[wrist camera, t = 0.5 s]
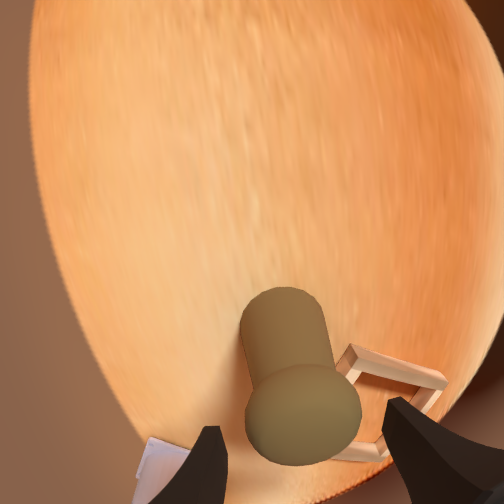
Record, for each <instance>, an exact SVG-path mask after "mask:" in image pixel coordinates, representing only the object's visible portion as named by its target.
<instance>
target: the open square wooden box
mask: <svg viewBox="0 0 504 504" xmlns="http://www.w3.org/2000/svg"><path fill="white" fill-rule="evenodd" d="M335 368H336V371H338V372H340V373H341V374H342V375H344V376H345V377H346V378H347V379H348V380H349V382H350V383H351V384H352V385H353V384H354V382H355V381H356V379H357V378H358V377H359V375H360V374H361V372H366V373H369V374H373V375H377V376H381V377H384V378H388V379H392V380H396V381H400V382H404V383H409V384H413V385H417V386H421V387H420V389H419V390H418V391H417V393H416V394H415V395H414V397H413V398H412V399H411V401H410V402H409V403H410V404H411V405H413V406H414V407H415V408H416V409H418V410H419V411H421V412H422V413H423V414H426V413H427V411H428V410H429V409H430V408H431V406H432V405H433V404H434V402H435V401H436V400H437V399H438V397H439V396H440V395H441V393H442V392H443V390H444V389H445V388H446V386H447V385H448V383H449V382H448V380H447V379H446V378H445V377H444V376H443V375H442V374H441V373H440V371H437V370H433V369H430V368H426V367H423V366H420V365H416V364H413V363H409V362H406V361H403V360H400V359H396V358H393V357H390V356H387V355H383V354H380V353H377V352H374V351H371V350H368V349H365V348H362V347H359V346H356V345H353V344H350V345H349V347H348V348H347V350H346V351H345V353H344V355H343V356H342V358H341V359H340V361H339V363H338V364H337V366H336V367H335ZM389 454H390V452H389V450H388V448H387V445H386V442H385V439H384V436H383V435H382V436H381V437H380V438H379V439H378V440H377V441H376V442H375V443H367V442H358V441H352V442H351V443H350V445H349V446H347V447H346V448H345V449H344V450H343V451H341V452H340V453H339V454H337V455H335V456H333V457H331V458H330V459H339V460H349V461H363V462H382V461H383V460H384V459H385V458H386V457H387V456H388V455H389Z"/></svg>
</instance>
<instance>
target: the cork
mask: <svg viewBox="0 0 504 504" xmlns="http://www.w3.org/2000/svg"><path fill="white" fill-rule="evenodd" d="M240 331H241V338H242V342H243V346H244V351H245V355H246V359H247V363H248V367H249V372H250V376H251V380H252V384H253V388H254V390H253V392H252V395H251V397H250V400H249V402H248V404H247V407H246V409H245V429H246V433H247V436H248V439H249V441H250V442H251V444H252V445H253V447H254V449H255V450H256V451H257V452H258V453H259V454H260V455H262V456H263V457H265V458H266V459H268V460H269V461H271V462H274V463H277V464H280V465H287V466H304V465H312V464H315V463H319V462H322V461H325V460H327V459H329V458H331V457H333V456H335V455H337V454H339V453H340V452H341V451H343V450H344V449H345V448H346V447H347V446H349V445H350V443H351V442H352V441H353V439H354V438H355V436H356V435H357V432H358V429H359V426H360V423H361V419H362V409H361V403H360V399H359V395H358V393H357V391H356V389H355V388H354V387H353V385H352V384H351V383H350V382H349V380H348V379H347V378H346V377H345V376H344V375H342V374H341V373H340V372H338V371H336V368H335V363H334V359H333V354H332V349H331V345H330V340H329V336H328V331H327V327H326V323H325V318H324V315H323V311H322V308H321V306H320V305H319V303H318V302H317V301H316V299H315V298H314V297H313V296H311V295H310V294H308V293H307V292H305V291H303V290H300V289H296V288H293V287H276V288H273V289H270V290H267V291H264V292H262V293H261V294H259V295H258V296H257V297H255V298H254V299H252V300H251V301H250V303H249V304H248V306H247V307H246V308H245V310H244V311H243V315H242V318H241V321H240Z"/></svg>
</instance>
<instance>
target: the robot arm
mask: <svg viewBox="0 0 504 504" xmlns="http://www.w3.org/2000/svg"><path fill="white" fill-rule="evenodd" d="M382 433H383V436H384V439H385V442H386V445H387V448H388V450H389V452H390V454H391V456H392V458H393V460H394V462H395V464H396V466H397V468H398V470H399V472H400V474H401V476H402V478H403V480H404V482H405V484H406V487H407V489H408V492H409V495H410V498H411V501H412V504H504V450H502V449H497V448H492V447H488V446H485V445H482V444H478V443H476V442H473V441H470V440H468V439H465V438H464V437H461V436H459V435H457V434H455V433H453V432H451V431H449V430H448V429H446V428H444V427H442V426H441V425H439V424H438V423H436V422H435V421H433V420H432V419H430V418H429V417H427V416H426V415H425V414H423V413H422V412H421V411H419V410H418V409H416V408H415V407H414V406H413V405H411V404H410V403H409V402H407V401H406V400H405V399H403V398H402V397H401V396H400V397H396V398H393V399H389V400H388V402H387V407H386V412H385V417H384V421H383V426H382ZM227 475H228V453H227V450H226V447H225V443H224V440H223V437H222V433H221V430H220V426H205V427H204V428H203V429H202V431H201V433H200V435H199V437H198V439H197V441H196V443H195V445H194V446H193V448H192V450H188V449H185V448H182V447H179V446H176V445H173V444H170V443H167V442H165V441H162V440H159V439H157V438H154V437H150V438H149V439H148V441H147V444H146V447H145V450H144V453H143V456H142V459H141V462H140V465H139V467H138V471H137V473H136V478H137V479H139V481H138V484H137V487H136V490H135V493H134V497H133V500H132V503H131V504H224V498H225V490H226V483H227Z"/></svg>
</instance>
